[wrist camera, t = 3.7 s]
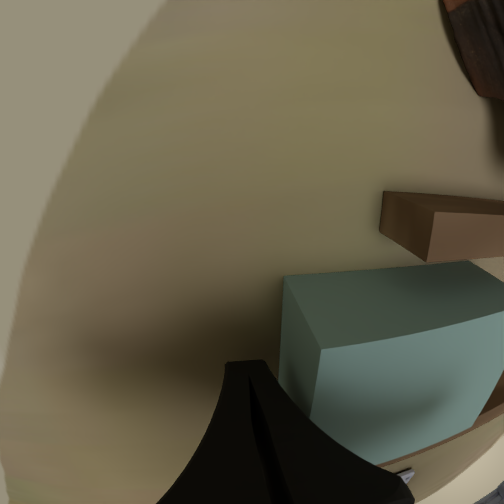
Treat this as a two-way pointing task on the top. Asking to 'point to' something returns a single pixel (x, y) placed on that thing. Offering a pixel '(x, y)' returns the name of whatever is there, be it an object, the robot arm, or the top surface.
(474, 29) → the pottery mug
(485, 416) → the guide channel
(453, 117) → the top surface
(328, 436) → the robot arm
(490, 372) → the block
